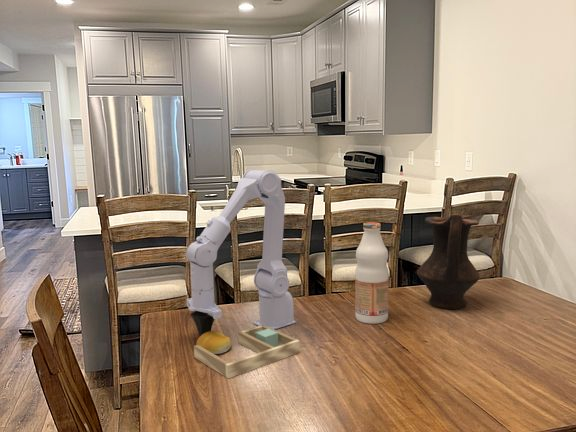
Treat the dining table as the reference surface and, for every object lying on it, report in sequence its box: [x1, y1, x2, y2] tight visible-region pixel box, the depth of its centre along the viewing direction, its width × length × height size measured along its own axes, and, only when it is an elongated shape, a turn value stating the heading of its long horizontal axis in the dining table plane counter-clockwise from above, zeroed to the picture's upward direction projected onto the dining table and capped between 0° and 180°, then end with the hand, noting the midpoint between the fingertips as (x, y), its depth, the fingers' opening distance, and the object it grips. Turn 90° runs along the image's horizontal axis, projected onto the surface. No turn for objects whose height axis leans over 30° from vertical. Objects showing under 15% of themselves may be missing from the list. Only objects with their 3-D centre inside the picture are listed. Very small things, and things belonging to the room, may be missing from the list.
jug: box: [416, 213, 480, 310], centre depth 159 cm, size 21×18×30 cm
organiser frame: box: [193, 325, 301, 379], centre depth 128 cm, size 21×15×3 cm
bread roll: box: [195, 330, 232, 355], centre depth 132 cm, size 8×9×4 cm
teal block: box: [256, 329, 279, 347], centre depth 132 cm, size 4×4×4 cm
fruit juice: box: [354, 221, 389, 325], centre depth 149 cm, size 9×9×28 cm
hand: (205, 338), depth 136 cm, fingers closed
